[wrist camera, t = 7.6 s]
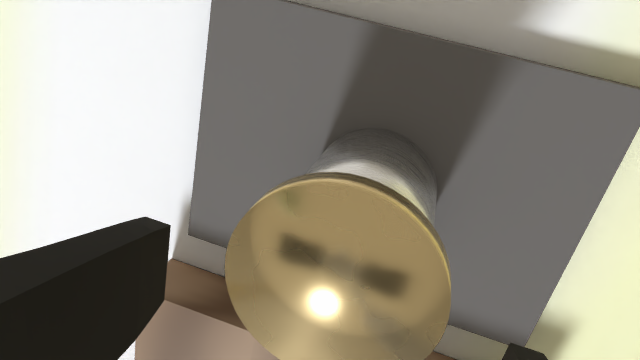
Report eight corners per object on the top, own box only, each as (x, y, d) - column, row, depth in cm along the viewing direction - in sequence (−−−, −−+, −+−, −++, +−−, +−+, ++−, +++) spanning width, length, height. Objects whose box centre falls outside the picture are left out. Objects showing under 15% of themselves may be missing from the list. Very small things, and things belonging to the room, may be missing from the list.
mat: (648, 90, 14) (656, 94, 13) (520, 339, 18) (522, 349, 18) (221, -16, 16) (213, -16, 16) (195, 228, 20) (187, 235, 20)
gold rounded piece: (474, 139, 15) (487, 230, 9) (425, 272, 17) (410, 412, 12) (318, 95, 16) (240, 154, 10) (290, 228, 18) (213, 338, 12)
